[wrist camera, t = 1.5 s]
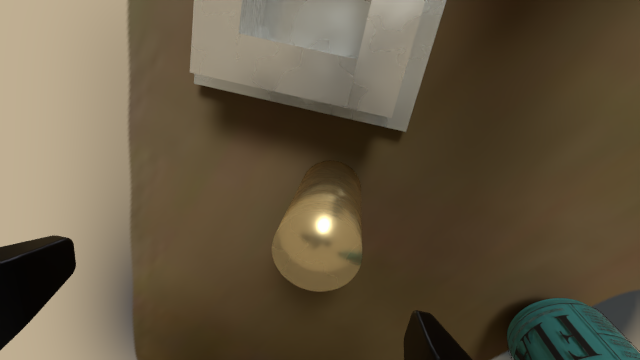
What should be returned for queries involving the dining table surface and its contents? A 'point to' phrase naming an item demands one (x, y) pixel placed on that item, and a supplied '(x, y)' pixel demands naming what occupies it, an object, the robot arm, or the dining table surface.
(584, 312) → the beverage bottle
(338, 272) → the solid brass peg
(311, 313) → the dining table surface
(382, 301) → the dining table surface
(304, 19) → the aluminium jig
